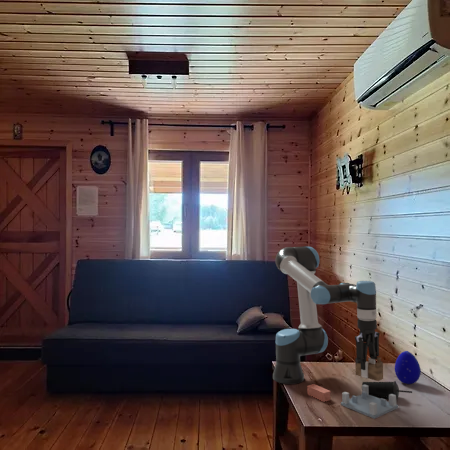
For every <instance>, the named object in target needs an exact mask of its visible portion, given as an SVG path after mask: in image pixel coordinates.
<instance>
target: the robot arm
mask: <svg viewBox="0 0 450 450" xmlns="http://www.w3.org/2000/svg"><path fill="white" fill-rule="evenodd" d="M275 265H276V267H277V269H278V270H279V271H280V272H281V273H282V274H284V275H288V276H289V277H290V278H292V279H293V280H294V281H295V282H296V285H297V286H296V287H297V296H298V307H299V317H300V319H299V320H300V324H299V326H298V329H297V328H284V329H281V330H280V331H278V332H276V334H275V343H274V344H275V356H276V357H275V358H276V359H275V362H276V363H275V366H274V369H273V370H274V371H273V373H272V380H273V381H275V382H276V383H279V384H284V385H296V384H300V383H303V382H304V381H305V374H304V371H303V368H302V365H301V357H303V356H309V355H317V354H319V353H323V352H325V351H326V349H327V347H328V343H329V338H328V334H327V332H326V331H325V329H324V328H323V325H322V324H320V323H319V320H318V309H317V305H327V304H335V303H337V304H338V303H345V302H346V303H347V302H351V303H356V313H357V314H356V316H357V318H358V319H357V329H358V330H359V335H358V336H357V335H356V336H354V339H355V350H356V352H355V353H356V358H357V360H359V361H360V362H361V376H360V377H362V378H365V379H369V378H368V363H372V364H375V363H377V362H376V361H377V357H379V356H380V342H379V341H380V332H378V331H376V330H377V329H378V325H377V324H378V323H377V322H378V321H377V318H378V317H377V289H376V283H375V282H374V281H372V280H359V281H357V282H356V284H354V283H349V282H341V283H339V284H331V285H330V284H328V283H326V282H325V281H323V280H322V279H321V278H319V277H318V276H316V275H315V274H316V269H317V268H318V267H319V265H320V256H319V253H318V251H317V250H316V249H315V248H314V247H312V246H306V245H305V246H293V247H292V246H286V247H284V248H281V249H280V250H279V251H278V252H277V254H276V256H275ZM368 354H369V357H368ZM367 357H368V361H367Z"/></svg>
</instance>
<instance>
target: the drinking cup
mask: <svg viewBox="0 0 450 450" xmlns="http://www.w3.org/2000/svg"><path fill="white" fill-rule="evenodd" d="M361 383H362V384H361V386H362V385H364V384H365V385H368V387H369V395H371V396H374V397H378V398H380V397H381V398H383V399H385V398H386V399H389V395H390V394H394V395H396V401H397V400H398V398H399V396H400V393H408V394H413V390H401V389H400V388H399V385H398V383H397V382H396V381H362V382H361Z"/></svg>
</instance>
